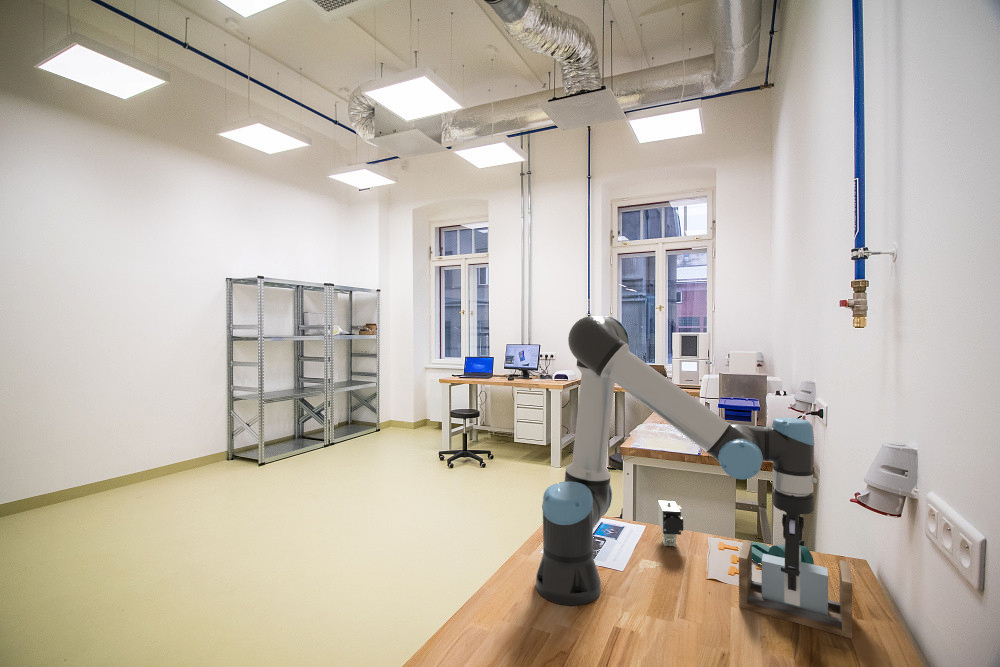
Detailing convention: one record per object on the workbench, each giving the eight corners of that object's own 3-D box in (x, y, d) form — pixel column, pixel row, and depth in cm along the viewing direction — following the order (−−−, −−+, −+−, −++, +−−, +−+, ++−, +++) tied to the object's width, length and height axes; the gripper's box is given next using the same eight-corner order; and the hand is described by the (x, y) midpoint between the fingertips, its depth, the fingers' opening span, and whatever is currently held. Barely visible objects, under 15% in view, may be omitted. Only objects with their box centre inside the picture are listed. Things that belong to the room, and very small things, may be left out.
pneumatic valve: (664, 553, 129) (663, 509, 129) (657, 534, 141) (657, 494, 140) (685, 554, 128) (685, 510, 128) (676, 535, 140) (676, 495, 139)
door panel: (761, 601, 104) (761, 560, 104) (763, 592, 108) (763, 553, 108) (827, 619, 98) (827, 576, 98) (827, 609, 101) (827, 567, 101)
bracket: (814, 583, 114) (813, 550, 114) (789, 586, 112) (789, 553, 112) (759, 548, 131) (759, 520, 131) (738, 551, 130) (737, 522, 130)
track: (739, 606, 104) (738, 557, 104) (744, 585, 112) (744, 539, 112) (852, 638, 93) (852, 583, 93) (848, 612, 101) (848, 561, 101)
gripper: (814, 513, 90) (814, 624, 90) (813, 477, 111) (813, 567, 111) (768, 505, 94) (769, 611, 94) (776, 472, 115) (776, 559, 115)
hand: (793, 588), depth 103 cm, fingers open, 13 cm apart
